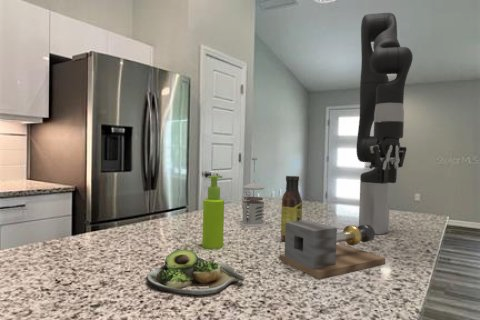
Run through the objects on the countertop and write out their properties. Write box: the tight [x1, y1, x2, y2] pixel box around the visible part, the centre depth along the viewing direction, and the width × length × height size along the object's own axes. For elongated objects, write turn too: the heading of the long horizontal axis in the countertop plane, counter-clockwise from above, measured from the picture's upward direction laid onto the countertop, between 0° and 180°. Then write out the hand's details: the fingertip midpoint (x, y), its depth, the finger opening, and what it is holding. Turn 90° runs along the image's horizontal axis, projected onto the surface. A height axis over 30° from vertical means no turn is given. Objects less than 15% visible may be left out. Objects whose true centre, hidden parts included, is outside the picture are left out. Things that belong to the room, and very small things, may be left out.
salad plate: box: [146, 249, 246, 296], centre depth 72 cm, size 19×18×5 cm
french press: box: [239, 156, 267, 228], centre depth 126 cm, size 10×12×25 cm
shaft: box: [336, 225, 376, 246], centre depth 87 cm, size 20×5×5 cm, turn 121°
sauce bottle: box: [280, 175, 303, 242], centre depth 105 cm, size 7×6×20 cm
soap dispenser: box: [201, 174, 225, 250], centre depth 97 cm, size 6×7×20 cm
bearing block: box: [278, 219, 386, 280], centre depth 85 cm, size 22×14×10 cm, turn 121°
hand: (386, 182), depth 95 cm, fingers open, 4 cm apart
